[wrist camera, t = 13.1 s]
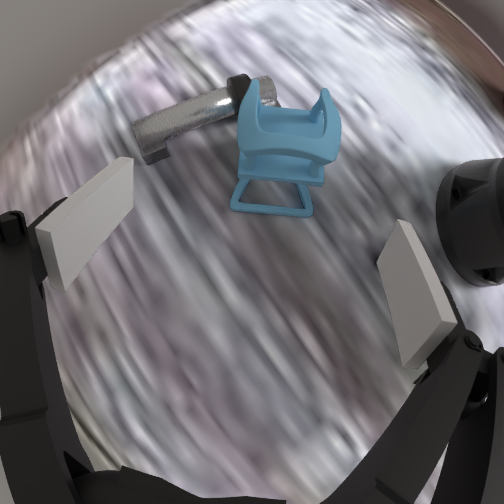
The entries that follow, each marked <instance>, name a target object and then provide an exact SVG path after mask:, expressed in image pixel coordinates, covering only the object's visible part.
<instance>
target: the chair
mask: <svg viewBox="0 0 504 504" xmlns="http://www.w3.org/2000/svg"><path fill="white" fill-rule="evenodd" d="M322 110H323V113H322ZM323 116H324V132H323ZM237 140H238V146H239V148H240V155H239V165H238V178H240V180H239V182H238V184H237V186H236V188H235V190H234V192H233V195H232V198H231V201H230V209H231V210H233V211H239V212H251V213H263V214H274V215H285V216H295V217H306V218H307V217H310V216H311V215H312V214H313V205H312V200H311V197H310V193H309V190H308V187H307V185H310V186H318V187H321V186H322V185H323V184H324V165H326V164H328V163H331V162H333V161H334V160H335V159H336V158H337V155H338V152H339V147H340V141H341V118H340V115H339V112H338V110H337V108H336V106H335V104H334V103H333V101H332V99H331V96H330V93H329V91H328V89H326V88H323V89H322V90H321V94H320V97H319V100H318V101H317V102H316V104H315V105H314V106H313V108H312V109H311V111H309V110H299V109H289V108H281V107H273V106H267V105H262V103H261V99H260V95H259V81H258V80H257V79H253V80H252V81H251V83H250V86H249V89H248V91H247V92H246V94H245V96H244V98H243V100H242V102H241V105H240V109H239V114H238V124H237ZM250 179H252V180H271V181H281V182H290V183H296V186H297V189H298V192H299V195H300V197H301V200H302V203H303V206H304V209H297V208H288V207H279V206H270V205H261V204H251V203H241V202H239V200H240V198H241V196H242V194H243V192H244V190H245V188H246V186H247V185H248V183H249V181H250Z"/></svg>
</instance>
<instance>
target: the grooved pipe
mask: <svg viewBox="0 0 504 504" xmlns="http://www.w3.org/2000/svg"><path fill="white" fill-rule="evenodd" d="M254 79H257V80H258V81H259V95H260V99H261V103H262V105H267V106H273V107H281V106H280V104H279V103H278V101H277V93H276V88H275V85H274V83H273V81H272V79H271V78H270V77H269V76H268V75H265V76H261V77H258V78H254ZM252 80H253V79H250V78H249V77H248V75H246V74H240V75H237V76H234V77H230V78H228V79H227V87H224V88H221V89H218V90H214V91H211V92H208V93H206V94H203V95H200V96H197V97H194V98H191V99H189V100H186V101H183V102H181V103H178V104H175V105H173V106H170V107H168V108H165V109H163V110H160V111H158V112H155V113H153V114H151V115H148V116H146V117H144V118H141V119H139V120H137V121H134V122H132V127H133V130H134V133H135V136H136V139H137V141H138V144H139V148H140V151H141V154H142V157H143V159H144V160H145V162H146V163H147V165H150V164H152V163H154V162H157V161H159V160H161V159H164V158H166V157H168V156H170V155H169V153H168V150H167V147H166V144H165V142H164V141H165V140H167V139H170V138H172V137H175V136H177V135H180V134H182V133H185V132H187V131H190V130H192V129H195V128H198V127H200V126H203V125H206V124H208V123H211V122H214V121H217V120H220V119H223V118H225V117H228V116H231V115H234V114H237V115H238V114H239V109H240V105H241V102H242V100H243V98H244V96H245V94H246V92H247V91H248V89H249V86H250V83H251V81H252Z"/></svg>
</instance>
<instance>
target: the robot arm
mask: <svg viewBox="0 0 504 504" xmlns="http://www.w3.org/2000/svg"><path fill="white" fill-rule="evenodd" d="M133 162H134V158H127V157H121V156H120V157H119V158H117V159H116V160H115V161H113V162H112V163H111V164H109V165H108V166H107V167H105V168H104V169H103V170H101V171H100V172H99V173H98V174H96V175H95V176H94V177H93V178H91V179H90V180H89V181H88V182H86V183H85V184H84V185H83V186H81V187H80V188H79V189H78V190H77V191H75V192H74V193H73V194H72V195H71V196H69V197H65V198H63V199H61V200H59V201H57V202H55V203H54V204H53V205H52V206H51V207H49V209H47V210H46V211H45V212H44V213H43V215H40V216H39V217H38V218H37V219H36V220H35V221H34V222H33V223H32V224H31V225H30V226H29V227H27V226H26V222H25V217H24V214H23V213H22V212H21V211H16V210H15V211H9V212H6V213H4V214H2V215H0V408H1V416H2V417H1V420H0V456H1V460H2V463H3V467H4V471H5V475H6V478H7V482H8V485H9V488H10V491H11V494H12V497H13V500H14V503H15V504H286V500H277V499H267V498H258V497H250V496H241V497H226V498H201V497H198V496H195V495H193V494H191V493H189V492H187V491H185V490H183V489H181V488H179V487H177V486H175V485H173V484H171V483H169V482H168V481H166V480H164V479H162V478H159V477H156V476H153V475H149V474H146V473H143V472H140V471H137V470H134V469H131V468H128V467H125V466H122V467H121V470H120V471H116V470H105V471H97V472H95V471H94V468H93V466H92V464H91V462H90V460H89V458H88V456H87V454H86V452H85V450H84V449H83V447H82V445H81V443H80V441H79V438H78V435H77V432H76V429H75V426H74V423H73V420H72V417H71V414H70V411H69V408H68V404H67V401H66V397H65V394H64V390H63V386H62V382H61V379H60V375H59V370H58V366H57V362H56V357H55V352H54V348H53V342H52V337H51V332H50V326H49V320H48V313H47V306H46V299H45V290H44V286H43V283H42V281H43V280H44V279H45V278H46V276H48V279H49V282H50V286H51V287H53V288H56V289H59V290H61V291H64V292H66V291H67V289H68V288H69V287H70V285H71V284H72V282H73V281H74V280H75V278H76V277H77V276H78V274H79V273H80V272H81V270H82V269H83V268H84V266H85V265H86V264H87V263H88V261H89V260H90V259H91V257H92V256H93V255H94V254H95V252H96V251H97V250H98V249H99V247H100V246H101V245H102V244H103V242H104V241H105V240H106V239H107V237H108V236H109V235H110V234H111V233H112V231H113V230H114V229H115V228H116V227H117V225H118V224H119V223H120V222H121V221H122V220H123V218H124V217H125V216H126V215H127V214H128V213H129V211H130V210H131V209H132V208H133ZM436 217H437V225H438V231H439V235H440V239H441V242H442V245H443V248H444V250H445V253H446V255H447V257H448V259H449V261H450V262H451V264H452V265H453V267H454V268H455V270H456V271H457V272H458V273H459V274H460V275H461V276H462V277H463V278H464V279H465V280H467V281H468V282H470V283H471V284H474V285H477V286H482V287H485V286H497V285H501V284H503V283H504V158H496V159H483V160H472V161H468V162H465V163H463V164H461V165H459V166H458V167H456V168H454V169H453V170H451V171H450V172H449V173H448V174H447V175H446V176H445V178H444V179H443V181H442V183H441V185H440V188H439V192H438V196H437V204H436ZM377 266H378V269H379V273H380V276H381V280H382V283H383V287H384V290H385V294H386V298H387V302H388V306H389V309H390V313H391V317H392V322H393V326H394V330H395V334H396V339H397V343H398V348H399V353H400V357H401V362H402V367H403V368H413V369H418V368H419V367H420V366H421V365H422V364H423V363H424V362H425V361H426V360H427V364H428V369H427V370H426V371H425V372H424V373H423V374H422V375H421V376H420V377H419V378H418V379H417V380H416V381H415V382H414V384H416V383H417V384H416V386H415V387H414V389H413V390H412V392H411V394H410V395H409V397H408V398H407V400H406V401H405V403H404V404H403V406H402V407H401V409H400V410H399V412H398V413H397V415H396V416H395V417H394V419H393V420H392V422H391V423H390V425H389V426H388V427H387V429H386V430H385V431H384V433H383V434H382V435H381V437H380V438H379V439H378V441H377V442H376V443H375V445H374V446H373V447H372V448H371V450H370V451H369V452H368V453H367V455H366V456H365V457H364V458H363V460H362V461H361V462H360V463H359V464H358V465H357V467H356V468H355V469H354V470H353V471H352V472H351V474H350V475H349V476H348V477H347V478H346V479H345V480H344V481H343V483H342V484H341V485H340V486H339V487H338V488H337V489H336V490H335V491H334V492H333V493H332V494H331V495H330V496H329V497H328V498H327V499H325V500H324V501H323V502H321V503H320V504H414V502H415V500H416V499H417V497H418V495H419V494H420V492H421V491H422V489H423V487H424V486H425V484H426V482H427V481H428V479H429V477H430V476H431V474H432V472H433V470H434V469H435V467H436V465H437V463H438V461H439V459H440V458H441V456H442V454H443V452H444V450H445V448H446V446H447V444H448V447H447V451H446V455H445V459H444V462H443V466H442V470H441V473H440V476H439V480H438V483H437V486H436V489H435V492H434V495H433V498H432V501H431V504H504V347H499V348H498V349H497V351H496V352H495V353H494V354H492V353H490V352H488V351H486V350H484V348H483V344H482V342H481V340H480V339H479V337H478V336H477V335H476V334H475V333H473V332H472V331H470V330H466V329H465V326H464V324H463V321H462V319H461V316H460V314H459V311H458V309H457V308H456V304H455V302H454V301H453V298H452V295H451V293H450V291H449V290H448V288H447V287H446V286H445V285H444V283H443V282H441V281H439V279H438V276H437V274H436V272H435V270H434V268H433V266H432V264H431V262H430V260H429V258H428V256H427V254H426V252H425V250H424V248H423V246H422V244H421V242H420V240H419V238H418V236H417V234H416V232H415V231H414V229H413V227H412V225H411V223H409V222H406V221H403V220H399V219H397V221H396V223H395V226H394V228H393V230H392V232H391V234H390V236H389V238H388V240H387V242H386V244H385V246H384V248H383V250H382V252H381V254H380V256H379V258H378V260H377ZM485 398H487V399H486V401H485ZM448 442H449V443H448Z"/></svg>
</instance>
